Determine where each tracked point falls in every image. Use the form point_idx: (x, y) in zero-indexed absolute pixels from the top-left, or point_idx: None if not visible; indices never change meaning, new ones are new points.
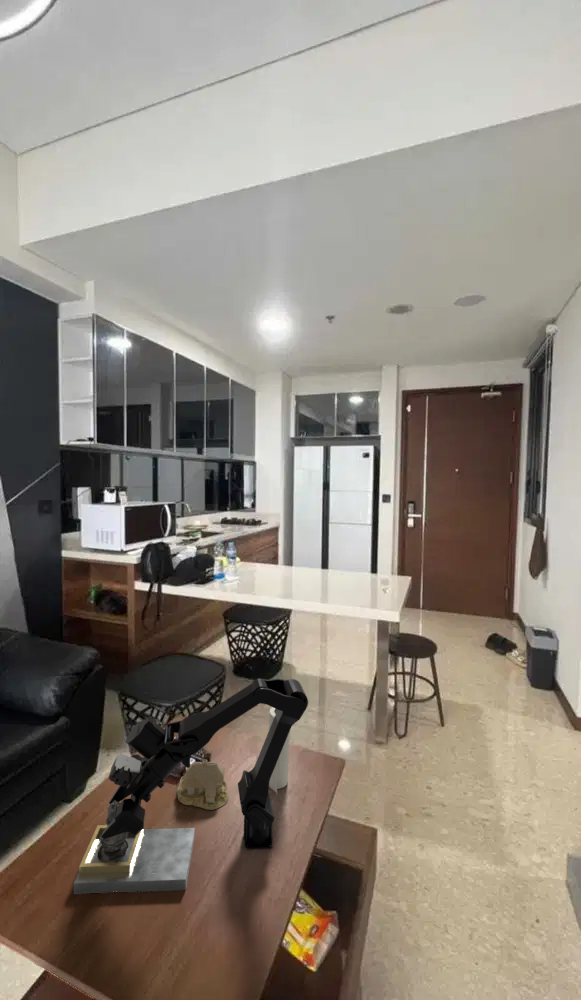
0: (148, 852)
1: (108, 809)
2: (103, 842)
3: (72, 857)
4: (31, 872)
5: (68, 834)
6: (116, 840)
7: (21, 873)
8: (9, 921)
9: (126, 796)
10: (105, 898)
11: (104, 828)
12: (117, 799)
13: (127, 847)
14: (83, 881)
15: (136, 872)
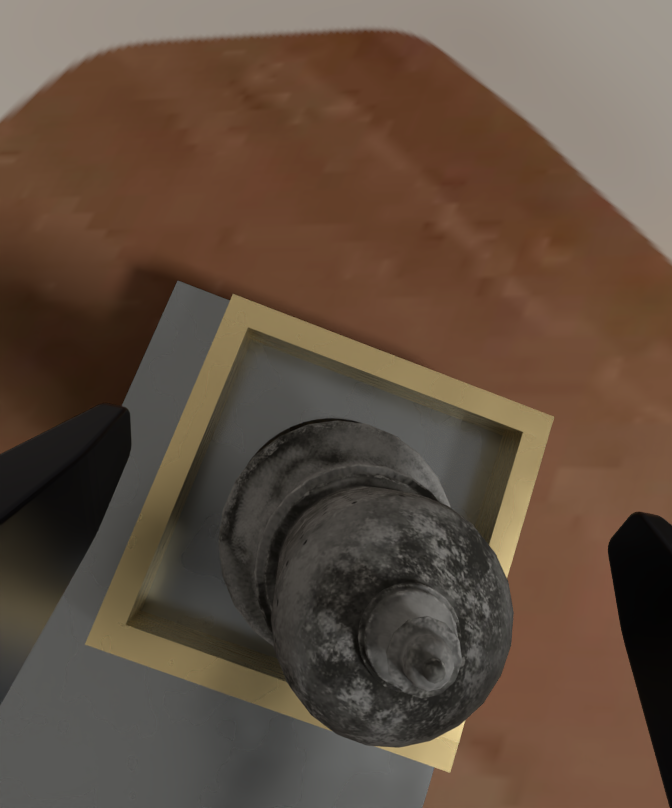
0: (211, 773)
1: (367, 504)
2: (289, 447)
3: (434, 297)
4: (414, 115)
5: (600, 276)
6: (252, 559)
7: (426, 74)
8: (176, 43)
9: (668, 780)
10: None
11: (511, 464)
12: (654, 630)
13: None
14: (165, 334)
15: (77, 672)
